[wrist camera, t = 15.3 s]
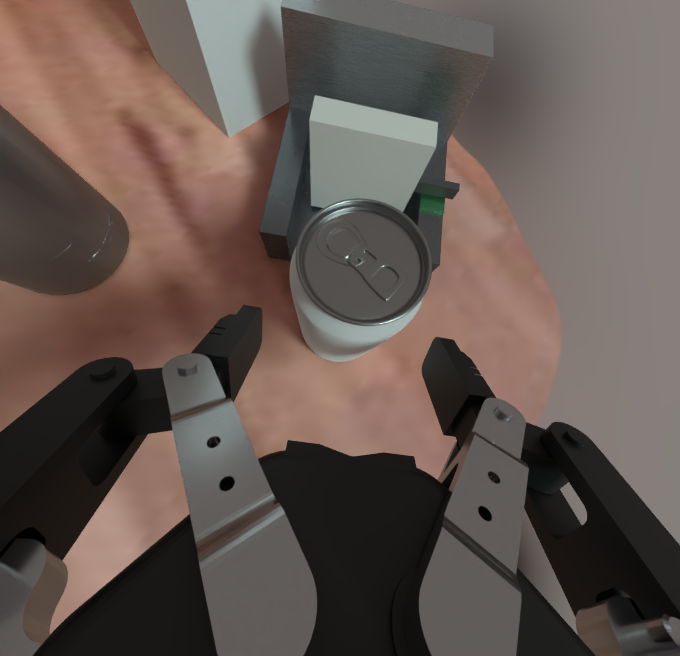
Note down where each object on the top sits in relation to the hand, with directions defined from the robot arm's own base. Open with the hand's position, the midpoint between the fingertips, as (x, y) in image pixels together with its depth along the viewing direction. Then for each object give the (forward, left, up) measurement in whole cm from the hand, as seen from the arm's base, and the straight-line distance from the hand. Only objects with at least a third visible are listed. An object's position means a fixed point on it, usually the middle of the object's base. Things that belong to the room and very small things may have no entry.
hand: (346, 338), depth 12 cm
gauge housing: (0, +16, -10) cm, 18 cm away
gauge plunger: (+2, +14, -8) cm, 17 cm away
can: (0, +3, -10) cm, 10 cm away
